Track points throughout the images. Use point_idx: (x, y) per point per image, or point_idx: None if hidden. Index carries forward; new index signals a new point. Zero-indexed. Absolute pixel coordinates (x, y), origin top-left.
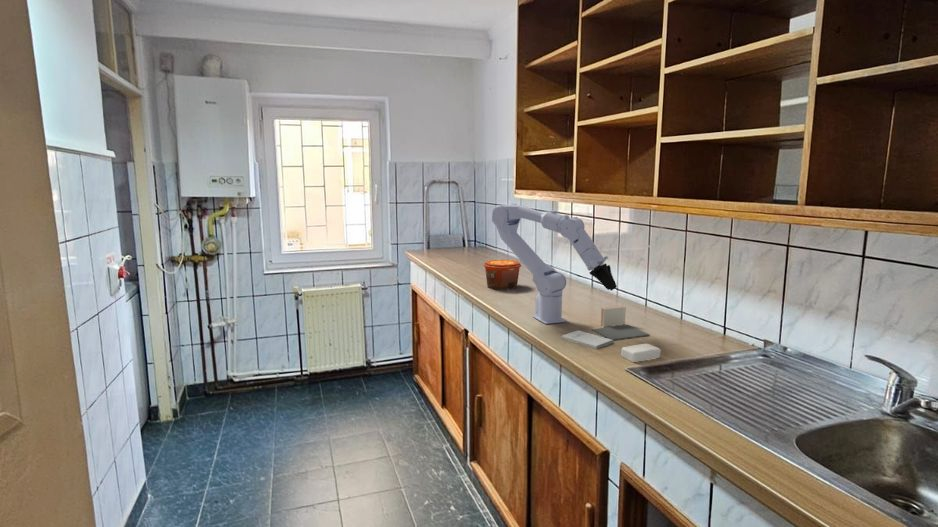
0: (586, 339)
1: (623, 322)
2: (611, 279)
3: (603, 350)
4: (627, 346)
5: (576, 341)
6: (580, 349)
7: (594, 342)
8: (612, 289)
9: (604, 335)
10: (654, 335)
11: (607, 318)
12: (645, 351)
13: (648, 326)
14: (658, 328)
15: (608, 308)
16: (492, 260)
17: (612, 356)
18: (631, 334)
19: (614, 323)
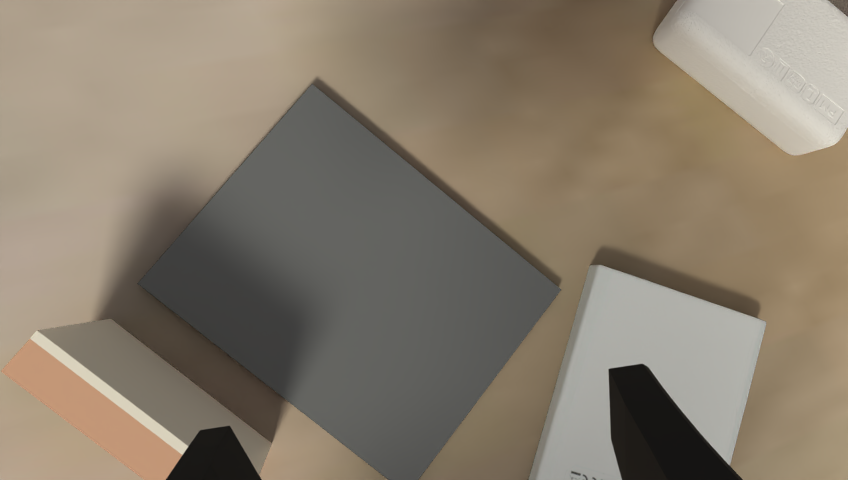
0: None
1: (113, 329)
2: (662, 453)
3: (753, 275)
4: (810, 115)
5: None
6: (808, 402)
7: (717, 355)
8: (255, 474)
9: (502, 358)
10: (285, 59)
11: None
12: (829, 3)
13: (63, 141)
14: (82, 62)
15: None
16: None
17: (817, 200)
18: (380, 198)
19: (185, 384)
